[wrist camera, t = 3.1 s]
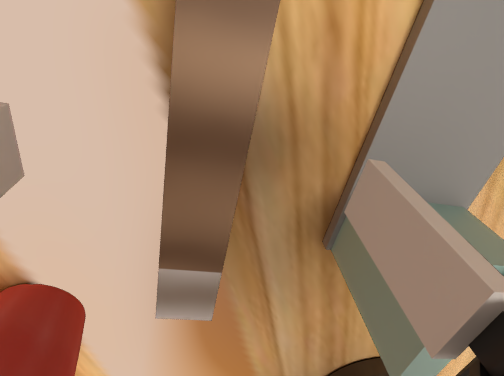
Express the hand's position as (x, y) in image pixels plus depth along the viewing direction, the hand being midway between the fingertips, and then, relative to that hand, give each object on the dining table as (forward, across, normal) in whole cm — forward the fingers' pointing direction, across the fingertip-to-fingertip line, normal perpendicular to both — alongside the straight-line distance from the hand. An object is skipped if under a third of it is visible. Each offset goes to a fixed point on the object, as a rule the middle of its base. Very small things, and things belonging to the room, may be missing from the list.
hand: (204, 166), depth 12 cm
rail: (+9, 0, 0) cm, 9 cm away
